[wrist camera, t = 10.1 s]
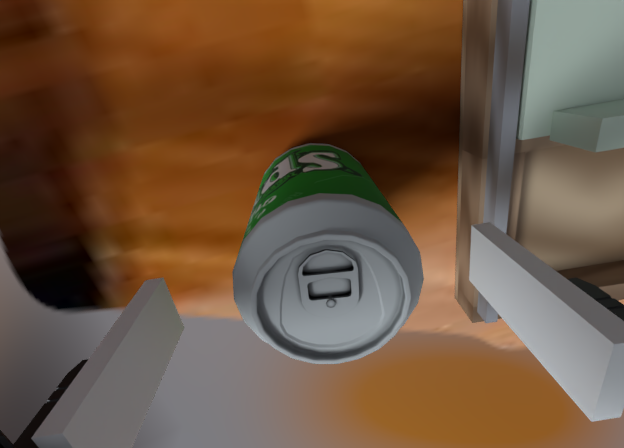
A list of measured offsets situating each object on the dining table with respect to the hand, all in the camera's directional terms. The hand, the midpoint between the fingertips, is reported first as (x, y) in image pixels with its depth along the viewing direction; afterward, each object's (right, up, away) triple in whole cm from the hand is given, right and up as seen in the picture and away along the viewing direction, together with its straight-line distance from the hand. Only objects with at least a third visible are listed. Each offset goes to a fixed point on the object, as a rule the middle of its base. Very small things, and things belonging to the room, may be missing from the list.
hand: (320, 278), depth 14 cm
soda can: (0, +4, +9) cm, 10 cm away
